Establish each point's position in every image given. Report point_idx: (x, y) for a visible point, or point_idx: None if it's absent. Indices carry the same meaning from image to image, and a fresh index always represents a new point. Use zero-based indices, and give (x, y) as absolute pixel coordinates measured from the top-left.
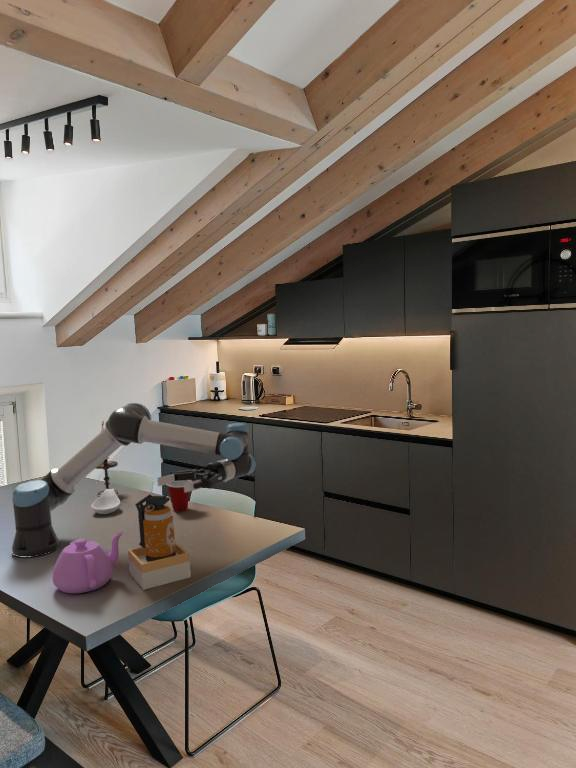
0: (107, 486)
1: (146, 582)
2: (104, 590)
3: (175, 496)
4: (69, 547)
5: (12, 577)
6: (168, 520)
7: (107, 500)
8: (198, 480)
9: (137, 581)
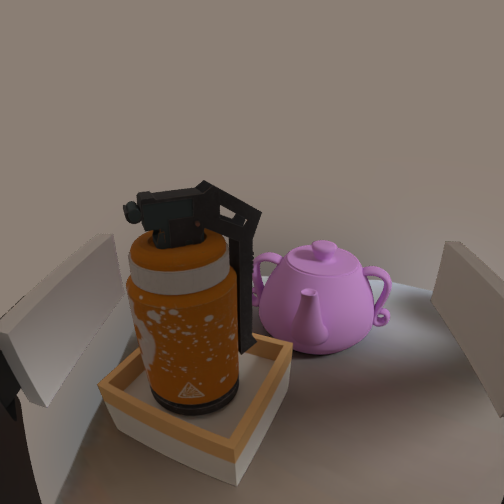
0: None
1: None
2: (257, 331)
3: None
4: (340, 252)
5: (430, 294)
6: (129, 276)
7: None
8: (11, 311)
9: None
